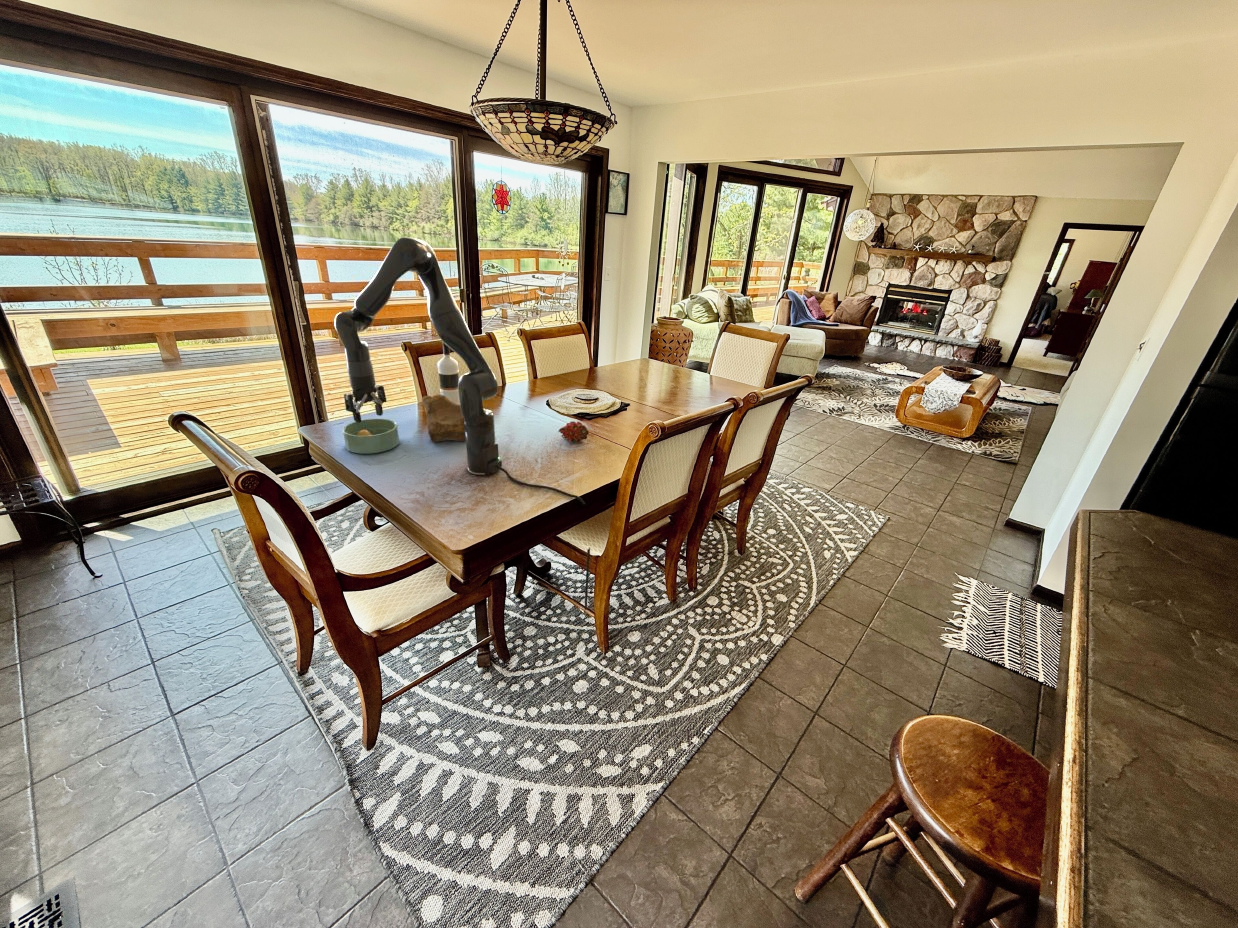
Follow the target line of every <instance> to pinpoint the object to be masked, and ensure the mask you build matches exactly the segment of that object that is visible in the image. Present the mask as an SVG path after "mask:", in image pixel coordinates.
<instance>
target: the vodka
mask: <svg viewBox="0 0 1238 928" xmlns="http://www.w3.org/2000/svg"><path fill="white" fill-rule="evenodd" d="M441 343H442V353H443V357H442V358H441V359H439V360H438V362H437V363H436V368H437V373H438V382H439V383H438V384H439V392H440V395H444V396H446V397H447V398H448V399H449V400H450V401H451V402H453V403H456V404H458V405H460V400H459V393H458V381H459V379H460V375H459V374H460V373H459V371H460V370H459V363H458V361H457V360H455V359H454V358H453V357H451V349H450V348H449V347H448V346H447V345H446V344H445V343H444V342H443V341H442V342H441Z"/></svg>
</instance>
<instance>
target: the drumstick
mask: <svg viewBox="0 0 1238 928" xmlns="http://www.w3.org/2000/svg"><path fill="white" fill-rule="evenodd" d="M369 435H371V433H370V432H369V431H367V430H361V431H359V432H358V434H357V436H369Z"/></svg>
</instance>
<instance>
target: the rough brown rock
mask: <svg viewBox="0 0 1238 928" xmlns="http://www.w3.org/2000/svg"><path fill="white" fill-rule="evenodd" d="M421 403H422V406H423V408H424V411H425V417H426V425H427V426H426V427H427V434H428V437H429V438H430V439H429V440H430V441H431V442H432V443H436V442H439V443H440V442H444V441H456V442H457V441H458V442H466V436H465V424H464V417H463V415H462V412H461V407H460V405H458V404H456V403H453V402H451V401H450V400H449V399H448V398H447V397H446V396H444V395H441V394H435V395H432V396H431V395H425V396H423V397H421Z"/></svg>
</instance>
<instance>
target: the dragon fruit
mask: <svg viewBox="0 0 1238 928" xmlns="http://www.w3.org/2000/svg"><path fill="white" fill-rule="evenodd" d="M558 433H560V434H561V435H560V436H561V437H562V439H564V440H565V439H567V440H568V441H570V443H571V444H572V443H575V441H576V443H580V442H581V441H584V440H586V439H588V435H589V430H588V428H587V426H585V425H584V424H583V423H582V422H581V421H569V422H567V423H566V425H564V426H562V427H561V428H559V429H558Z"/></svg>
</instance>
